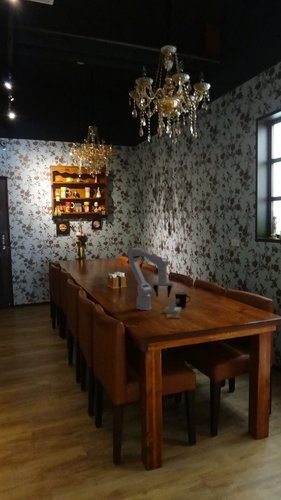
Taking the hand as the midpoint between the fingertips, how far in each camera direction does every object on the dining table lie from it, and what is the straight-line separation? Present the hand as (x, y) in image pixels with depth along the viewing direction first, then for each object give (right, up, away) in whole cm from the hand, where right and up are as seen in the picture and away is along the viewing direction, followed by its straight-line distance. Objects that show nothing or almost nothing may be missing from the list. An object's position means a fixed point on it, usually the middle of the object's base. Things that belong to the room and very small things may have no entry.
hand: (162, 296), depth 223 cm
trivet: (+6, -11, -11) cm, 17 cm away
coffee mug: (+14, -10, +13) cm, 22 cm away
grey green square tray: (+7, -10, +2) cm, 12 cm away
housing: (+7, -8, +2) cm, 11 cm away
